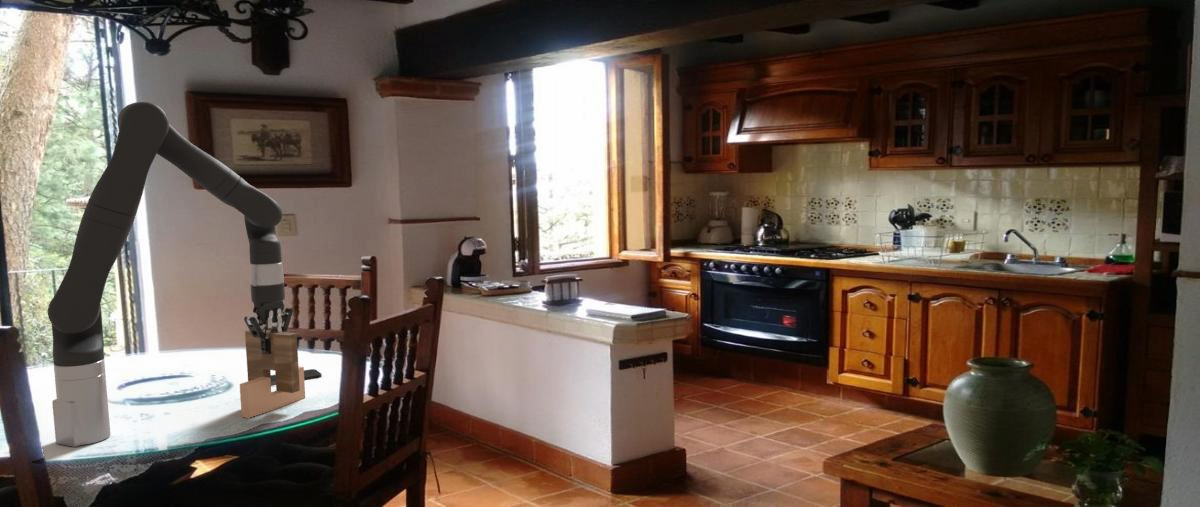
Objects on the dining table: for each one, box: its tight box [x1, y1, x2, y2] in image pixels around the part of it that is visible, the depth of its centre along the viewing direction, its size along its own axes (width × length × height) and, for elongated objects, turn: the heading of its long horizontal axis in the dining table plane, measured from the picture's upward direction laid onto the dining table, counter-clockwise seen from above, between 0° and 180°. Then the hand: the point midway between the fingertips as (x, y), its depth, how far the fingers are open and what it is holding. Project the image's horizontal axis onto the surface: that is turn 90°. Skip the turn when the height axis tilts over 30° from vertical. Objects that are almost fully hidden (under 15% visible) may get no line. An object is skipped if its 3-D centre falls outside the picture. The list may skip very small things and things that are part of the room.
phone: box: [271, 368, 323, 386], centre depth 227 cm, size 8×1×15 cm
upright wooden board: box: [244, 329, 300, 393], centre depth 199 cm, size 2×14×14 cm, turn 66°
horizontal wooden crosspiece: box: [239, 365, 306, 419], centre depth 200 cm, size 18×2×8 cm, turn 157°
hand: (271, 352), depth 199 cm, fingers closed on upright wooden board, 2 cm apart
